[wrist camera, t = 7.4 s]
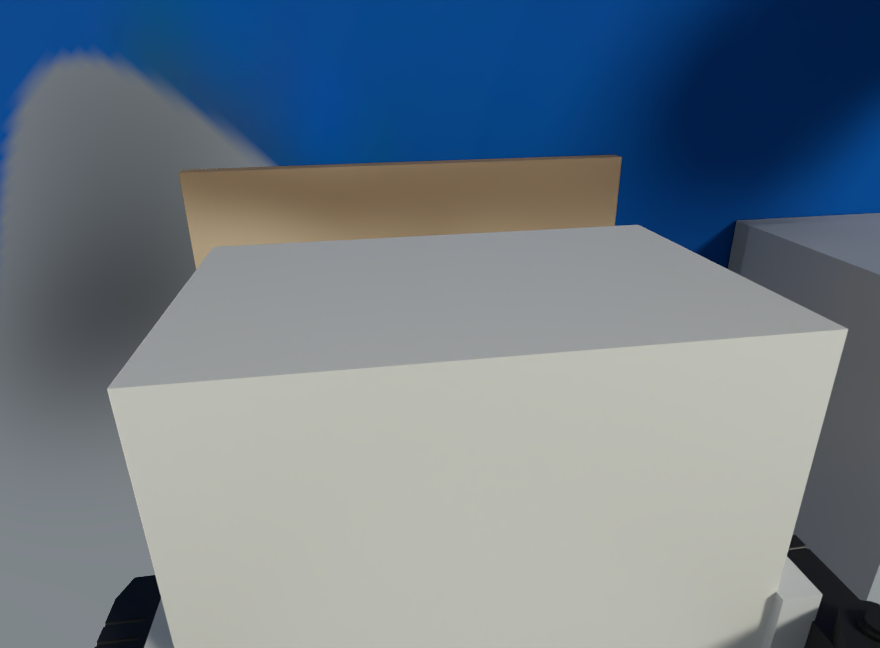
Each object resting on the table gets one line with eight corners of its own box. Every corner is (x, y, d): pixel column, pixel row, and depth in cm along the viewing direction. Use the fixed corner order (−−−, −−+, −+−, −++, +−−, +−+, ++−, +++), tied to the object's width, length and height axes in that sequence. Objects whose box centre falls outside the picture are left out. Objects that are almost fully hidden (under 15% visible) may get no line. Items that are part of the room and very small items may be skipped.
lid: (213, 246, 13) (106, 389, 7) (638, 225, 15) (847, 329, 9) (281, 657, 18) (251, 945, 12) (593, 613, 20) (706, 852, 14)
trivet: (183, 169, 18) (178, 172, 18) (614, 154, 20) (622, 157, 20) (247, 526, 24) (244, 537, 23) (581, 489, 26) (586, 497, 25)
